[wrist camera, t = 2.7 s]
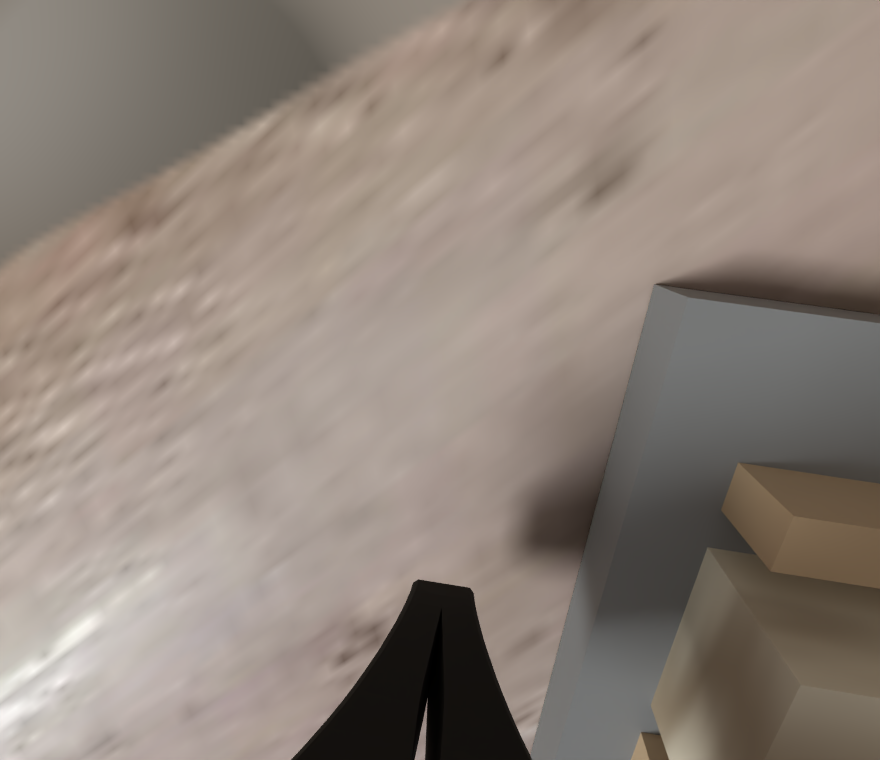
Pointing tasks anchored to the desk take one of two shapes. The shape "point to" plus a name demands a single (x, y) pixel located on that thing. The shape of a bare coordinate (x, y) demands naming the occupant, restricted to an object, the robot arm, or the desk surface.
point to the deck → (714, 493)
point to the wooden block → (771, 667)
